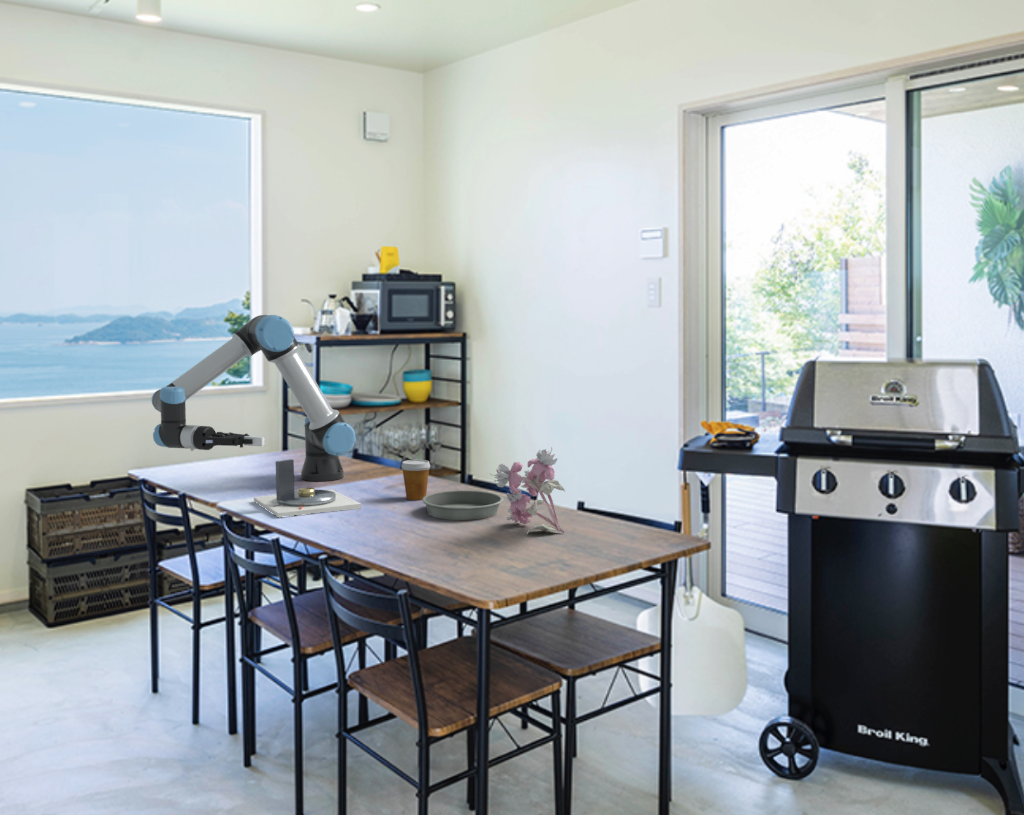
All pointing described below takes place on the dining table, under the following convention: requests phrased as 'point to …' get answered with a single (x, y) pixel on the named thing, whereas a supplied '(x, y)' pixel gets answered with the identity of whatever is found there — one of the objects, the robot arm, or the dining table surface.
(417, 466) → the disposable coffee cup
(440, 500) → the cake pan
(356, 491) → the dining table surface
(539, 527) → the flower
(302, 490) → the dial
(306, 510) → the dial board
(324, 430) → the robot arm
